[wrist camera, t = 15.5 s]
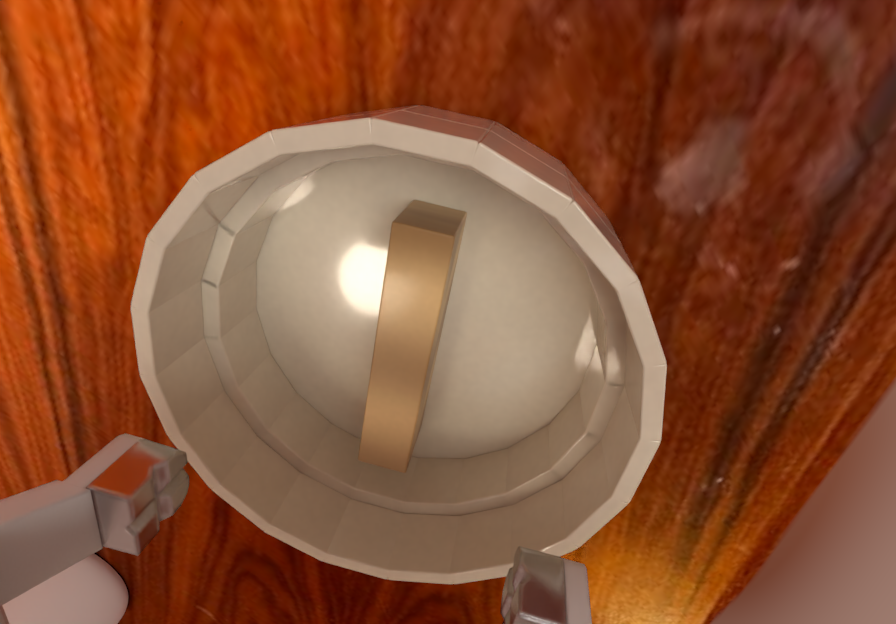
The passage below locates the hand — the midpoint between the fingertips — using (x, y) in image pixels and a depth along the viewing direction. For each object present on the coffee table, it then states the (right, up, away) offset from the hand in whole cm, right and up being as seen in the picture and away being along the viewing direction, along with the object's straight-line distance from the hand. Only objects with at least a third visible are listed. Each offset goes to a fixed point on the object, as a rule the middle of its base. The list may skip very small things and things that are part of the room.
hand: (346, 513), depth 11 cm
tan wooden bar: (+1, +4, +8) cm, 9 cm away
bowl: (+1, +5, +9) cm, 10 cm away
